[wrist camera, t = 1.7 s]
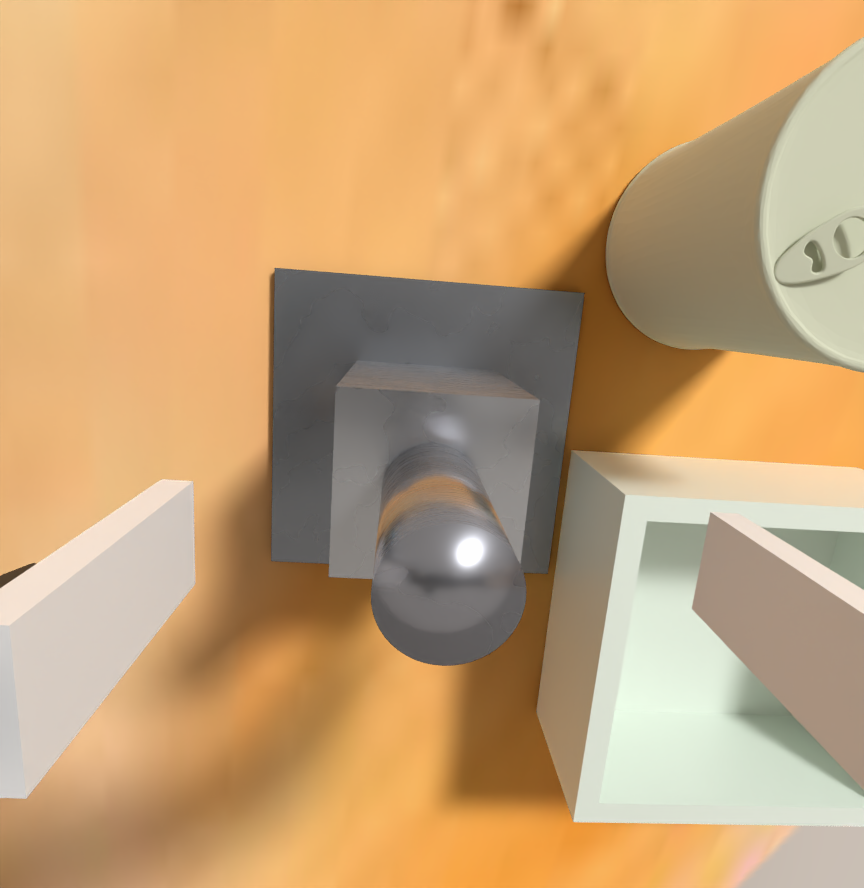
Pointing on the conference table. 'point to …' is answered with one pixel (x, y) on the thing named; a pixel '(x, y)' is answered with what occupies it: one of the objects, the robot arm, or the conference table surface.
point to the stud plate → (408, 342)
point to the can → (755, 229)
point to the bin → (683, 646)
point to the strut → (433, 503)
